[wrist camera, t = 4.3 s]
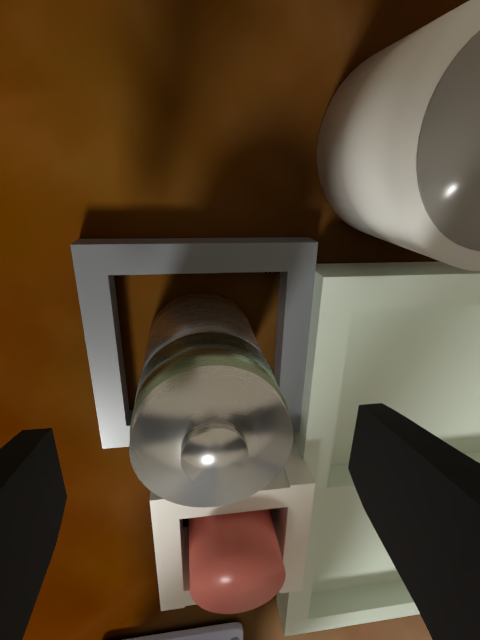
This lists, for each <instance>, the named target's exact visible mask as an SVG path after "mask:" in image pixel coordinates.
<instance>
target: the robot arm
mask: <svg viewBox="0 0 480 640" xmlns="http://www.w3.org/2000/svg"><path fill="white" fill-rule="evenodd" d="M348 470H349V472H350V475H351V478H352V480H353V483H354V486H355V488H356V491H357V493H358V496H359V498H360V501H361V503H362V505H363V508H364V510H365V512H366V514H367V516H368V518H369V519H370V521H371V523H372V525H373V527H374V529H375V531H376V533H377V534H378V536H379V538H380V540H381V542H382V544H383V546H384V548H385V549H386V551H387V553H388V555H389V557H390V559H391V560H392V562H393V564H394V566H395V568H396V570H397V571H398V573H399V575H400V577H401V579H402V581H403V583H404V584H405V586H406V588H407V590H408V592H409V594H410V595H411V597H412V599H413V601H414V603H415V605H416V607H417V609H418V611H419V613H420V615H421V617H422V619H423V621H424V623H425V625H426V627H427V629H428V631H429V633H430V635H431V637H432V639H433V640H480V463H479V462H477V461H475V460H474V459H472V458H470V457H469V456H467V455H465V454H464V453H462V452H461V451H459V450H457V449H456V448H454V447H452V446H451V445H449V444H448V443H446V442H445V441H443V440H441V439H440V438H438V437H437V436H435V435H433V434H432V433H430V432H429V431H427V430H426V429H424V428H422V427H421V426H419V425H418V424H416V423H415V422H413V421H411V420H410V419H408V418H407V417H405V416H403V415H402V414H400V413H398V412H397V411H395V410H393V409H392V408H390V407H388V406H386V405H385V404H383V403H376V404H363V405H359V407H358V413H357V419H356V425H355V430H354V436H353V442H352V448H351V453H350V459H349V465H348ZM66 498H67V495H66V490H65V486H64V481H63V477H62V472H61V468H60V463H59V459H58V454H57V449H56V445H55V440H54V436H53V431H52V428H47V429H34V430H22V431H21V432H20V433H19V434H17V435H16V436H15V437H14V438H12V439H11V440H10V441H9V442H8V443H7V444H5V445H4V446H3V447H2V448H1V449H0V640H22V639H23V636H24V633H25V630H26V628H27V625H28V622H29V619H30V616H31V614H32V611H33V608H34V605H35V602H36V600H37V597H38V594H39V591H40V588H41V586H42V583H43V580H44V577H45V574H46V571H47V569H48V566H49V563H50V560H51V557H52V554H53V551H54V548H55V545H56V542H57V538H58V534H59V529H60V525H61V521H62V517H63V512H64V507H65V503H66ZM123 640H243V626H242V624H241V623H239V622H231V623H225V624H219V625H212V626H206V627H199V628H193V629H187V630H180V631H174V632H168V633H161V634H155V635H148V636H142V637H136V638H129V639H123Z"/></svg>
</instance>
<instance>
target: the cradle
mask: <svg viewBox="0 0 480 640" xmlns="http://www.w3.org/2000/svg"><path fill="white" fill-rule="evenodd" d="M317 250H318V242H317V241H315V240H313V239H311V238H310V237H252V238H120V239H78V240H76V241H75V242H73V243H72V244H71V252H72V258H73V264H74V271H75V277H76V283H77V290H78V296H79V302H80V309H81V315H82V322H83V328H84V334H85V341H86V347H87V353H88V360H89V366H90V373H91V379H92V385H93V392H94V398H95V404H96V411H97V417H98V424H99V430H100V436H101V443H102V449H105V448H117V447H129V443H130V425H131V419H132V414H133V410H129V402H128V393H127V385H126V376H125V367H124V359H123V350H122V341H121V333H120V324H119V315H118V307H117V298H116V289H115V281H114V275H147V274H194V273H242V272H280V282H279V298H278V314H277V330H276V346H275V363H274V377H275V379H276V381H277V384H278V386H279V388H280V391H281V393H282V395H283V397H284V400H285V402H286V404H287V408H288V411H289V416H290V419H291V422H292V427H293V432H299V430H300V420H301V410H302V400H303V390H304V380H305V370H306V360H307V350H308V340H309V330H310V320H311V310H312V300H313V290H314V280H315V270H316V260H317Z"/></svg>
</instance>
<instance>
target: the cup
mask: <svg viewBox="0 0 480 640" xmlns="http://www.w3.org/2000/svg"><path fill="white" fill-rule="evenodd" d="M317 169H318V175H319V180H320V184H321V187H322V190H323V193H324V195H325V197H326V199H327V201H328V203H329V205H330V206H331V208H332V209H333V210H334V212H335V213H336V214H337V215H338V216H339V217H340V218H341V219H342V220H343V221H344V222H345V223H347V224H348V225H349V226H351V227H352V228H354V229H356V230H358V231H360V232H363V233H366V234H368V235H371V236H374V237H376V238H379V239H382V240H384V241H387V242H390V243H392V244H395V245H398V246H401V247H403V248H406V249H409V250H411V251H414V252H417V253H419V254H422V255H425V256H427V257H430V258H433V259H435V260H438V261H441V262H443V263H446V264H449V265H451V266H454V267H457V268H460V269H465V270H470V271H480V0H469V1H467V2H466V3H464V4H462V5H460V6H459V7H457V8H455V9H453V10H452V11H450V12H448V13H446V14H445V15H443V16H441V17H439V18H437V19H436V20H434V21H432V22H430V23H429V24H427V25H425V26H423V27H422V28H420V29H418V30H416V31H415V32H413V33H411V34H409V35H408V36H406V37H404V38H402V39H400V40H399V41H397V42H395V43H393V44H392V45H390V46H388V47H386V48H385V49H383V50H381V51H379V52H378V53H376V54H374V55H372V56H371V57H369V58H368V59H366V60H365V61H364V62H362V63H361V64H360V65H359V66H357V67H356V68H355V69H354V70H353V71H352V72H351V73H350V74H349V75H348V76H347V78H346V79H345V80H344V81H343V82H342V83H341V85H340V86H339V88H338V89H337V91H336V92H335V94H334V96H333V97H332V99H331V101H330V103H329V105H328V107H327V110H326V112H325V115H324V117H323V120H322V124H321V128H320V131H319V137H318V144H317Z"/></svg>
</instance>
